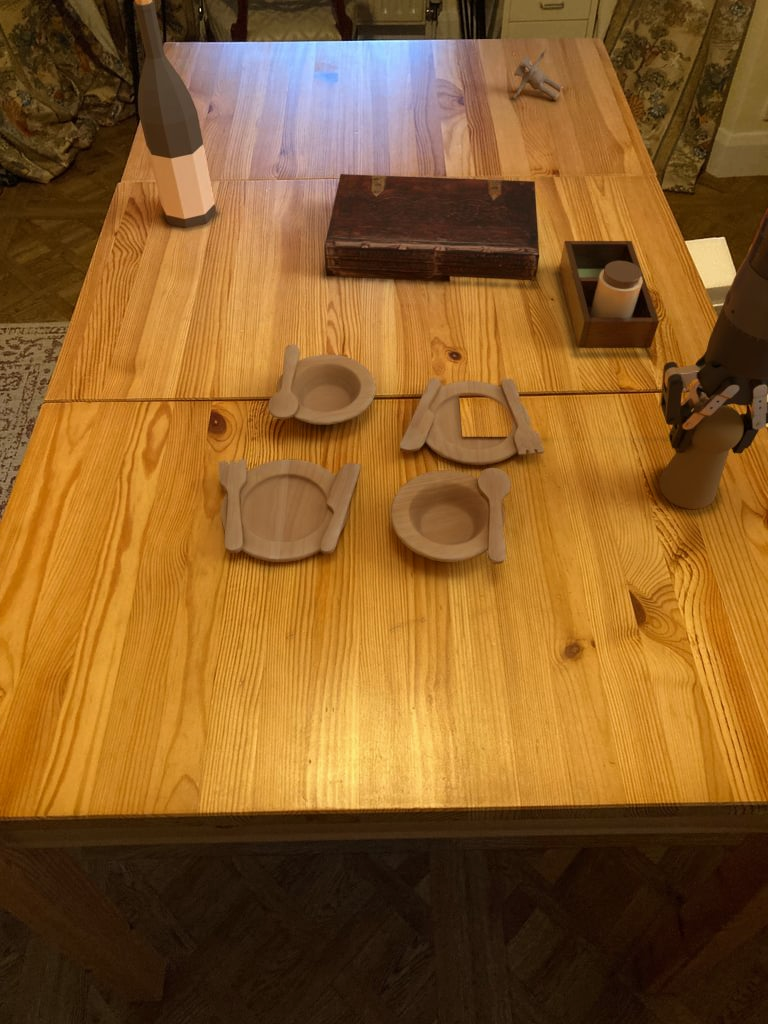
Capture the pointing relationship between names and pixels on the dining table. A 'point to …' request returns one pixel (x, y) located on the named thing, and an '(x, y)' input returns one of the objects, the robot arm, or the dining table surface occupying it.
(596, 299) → the spice pot
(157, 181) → the wine bottle
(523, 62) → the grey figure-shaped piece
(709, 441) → the pepper mill
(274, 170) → the dining table surface
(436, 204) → the hardback book
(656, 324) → the box
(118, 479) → the dining table surface
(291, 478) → the tableware set
